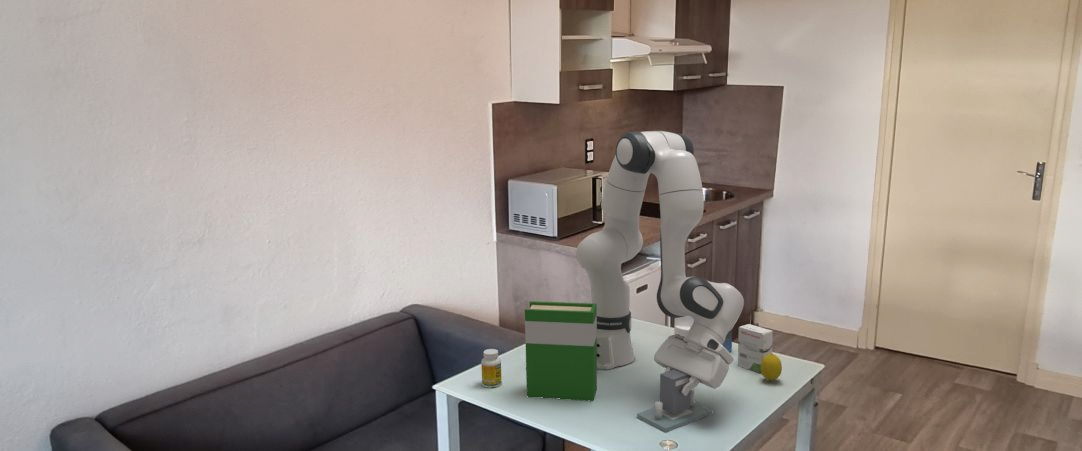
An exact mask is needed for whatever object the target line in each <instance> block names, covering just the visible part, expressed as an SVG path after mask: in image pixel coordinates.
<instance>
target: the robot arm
mask: <svg viewBox="0 0 1082 451" xmlns="http://www.w3.org/2000/svg"><path fill="white" fill-rule="evenodd" d="M694 155H695V151H694V145H693V142H692V140H691V139H690V138H689V137H688V136H687V135H684V134H683V133H679V132H675V131H674V132H670V131H665V130H653V131H652V130H651V131H650V130H649V131H648V130H647V131H639V130H638V131H636V130H634V131H630V132H626V133H624V134H622V135H621V136H620V137H619V138H618V140H617V143H616V147H615V155H614V158H613V160H612V163H611V165H610V168H609V171H608V175H607V178H606V183H605V186H604V191H603V194H602V199H601V204H600V206H601V207H600V208H601V209H602V211H603V213H604V226H603V227H602V229H600V230H598V231H596V232H593V233H591V234H589V235H587V236H586V237H584V239H582V240H581V241H580V242H579V244H578V245H577V246H576V252H575V253H576V260H577V262H578V264H579V265H580V266H581V268H582V269H584V271H585V272H586V274H587V277H588V280H589V285H590V294H591V296H590V297H591V298H590V300H591V302H590V303H593V304H597V370H598V369H600V370H611V369H614V368H615V367H616V368H617V367H622V366H625V365H629V364H631V363H633V362H634V361H635V360H636V356H635V353H634V352H635V351H634V349H633V343H632V337H631V331H632V312H631V311H630V307H631V306H630V302H631V300H630V299H631V298H630V296H631V295H630V294H631V292H630V290H631V289H630V286H629V283H628V282H627V281H626V280H624V277H623V274H622V264H623V263H626V262H628V261H630V260H632V259H634V258H635V257H636V256H637V255H638V253H640V252H641V250H642V248H643V246H644V238H643V235H642V233H641V231H640V214H641V209H642V205H643V202H644V196H645V192H646V189H647V185H648V180H649V177H650V174H653V175H654V176H655V177H656V180H657V186H658V199H659V200H658V201H659V211H660V212H659V213H660V230H659V231H660V232H659V247H660V248H659V249H660V253H659V254H660V256H659V257H660V280H659V284H658V289H657V291H656V302H657V305H658V308H659V310H660V311H661V312H662V313H663V314H664V315H665V316H667V317H669V318H673V319H675V318H680V317H684V316H691V317H692V318H693V319H694V323H693V324H692V326H691V328H690V329H689V331H688V333H687V334H686V336H685V337H684V336H680V335H679V334H675V335H674V334H671V335H669V336H668V337H667V338H666V340H665V341H664V342H663V343H662V344H661V345H660V346H659V348H658V349H657V350H656V352H655V353H654V355H653V361H654V362H655V364H657V365H659V367H662V368H664V372H667V371H670V370H673V369H676V370H678V371H680V372H683V373H685V374H687V375H690V376H691V377H690V379H689V381H690V382H689V383H687V384H686V385H685V386H683V385H682V386H681V388H680V389H679V392H680V393H681V394H683V395H685V396H686V395H687V394H688V392H689V391H690V390H694V389H695V388H696V387H698V385H699V384H702V385H704V386H707V387H709V388H711V389H714V390H715V389H717V388H719V387H721V385H722V384H723V382H724V381H725V379H726V377H727V375H728V373H729V370H730V368H729V365H731V364H732V363H733V362H734V360H735V358H734V356H733V355H732V353H730V352H728V350H727V349H726V348H725V347H724V346H723V343H724V341H725V338H726V335H727V334H728V332H729V331H730V330H732V331H733V328H734V327H735V324H736V323H737V321H738V320H739V318H740V316H741V313H742V311H743V309H744V306H745V299H744V297H743V295H742V293H741V292H740V290H739V289H737V288H736V287H735V286H733V285H731V284H730V283H727V282H714V281H709V280H707V279H705V278H703V277H701V276H686V256H685V254H686V253H685V252H686V250H685V248H686V242H687V239H688V237H689V235H690V234H691V232H692V231H693V229H695V228H696V226H697V225H699V223H700V222H701V220H702V218H703V216H704V208H705V201H704V200H705V198H704V191H703V190H704V189H703V183H702V178H701V174H700V168H699V166H698V162H697V160H696V157H695V156H694Z"/></svg>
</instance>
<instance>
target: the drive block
mask: <svg viewBox="0 0 1082 451" xmlns="http://www.w3.org/2000/svg"><path fill="white" fill-rule="evenodd" d="M690 377H691V376H690V375H687V374H685V373H683V372H680V371H678V370H676V369H673V370H670V371H667V372H665V371H663V372H661V373H660V374H659V401H661V402H662V403H663V410H665V411H667V412H669V413H671V414H675V413H678V412H680V411H683V410H685V409H688V408H690V393H691V390H690V391H689V392H688V394H687V395H686V396H685V395H683V394H681V393H680V392H679V389H680V388H681V386H682V385H683V386H685V385H686V384H687V383H689V382H690V381H689V379H690Z"/></svg>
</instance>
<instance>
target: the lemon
mask: <svg viewBox="0 0 1082 451" xmlns="http://www.w3.org/2000/svg"><path fill="white" fill-rule="evenodd" d="M782 370H783V366H782V361H781V359H780V357H778V356H777V355H776V354H774V353H773V352H772V353H771V354H768V355H766V356H765V357H764V358H763V359H762V362H761V373H760V374H761V375H762V376H763V378H765V379H766V380H768V382H773V381H774V380H776V379H779V377H780V376H781V374H782Z"/></svg>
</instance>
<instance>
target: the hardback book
mask: <svg viewBox="0 0 1082 451" xmlns="http://www.w3.org/2000/svg"><path fill="white" fill-rule="evenodd" d="M524 330H525V331H524V334H525V335H524V336H525V337H524V338H525V339H524V340H525V370H526V371H525V374H526V375H525V379H526V380H525V382H526V397H527V396H528V397H527V398H532V397H543V398H542V399H549V398H555V399H554V400H557V399H556V398H560V399H559V400H566V399H571V400H572V401H583V400H585V401H587V402H594V401H595V398H596V394H597V391H598V368H597V304H593V303H591V302H585V303H584V302H564V301H563V302H561V301H559V302H558V301H535V300H534V301H533V300H530V301H529V308H524ZM588 400H590V401H588ZM585 401H584V402H585Z"/></svg>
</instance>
